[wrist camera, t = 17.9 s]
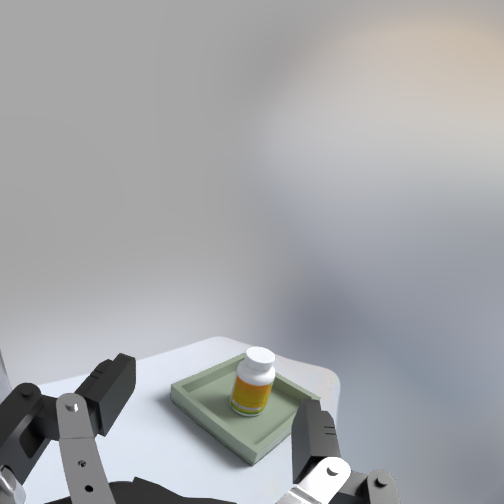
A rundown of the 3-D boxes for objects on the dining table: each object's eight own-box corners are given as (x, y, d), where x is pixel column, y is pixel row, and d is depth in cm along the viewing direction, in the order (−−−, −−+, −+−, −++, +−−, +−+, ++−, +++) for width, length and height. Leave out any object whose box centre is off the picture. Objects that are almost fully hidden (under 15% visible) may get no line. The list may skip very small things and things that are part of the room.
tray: (170, 398, 39) (171, 384, 38) (240, 366, 51) (243, 352, 50) (252, 466, 29) (257, 453, 29) (314, 410, 42) (320, 397, 41)
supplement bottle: (267, 418, 38) (284, 367, 36) (230, 416, 37) (242, 364, 35) (262, 395, 43) (276, 345, 41) (228, 392, 42) (238, 341, 40)
